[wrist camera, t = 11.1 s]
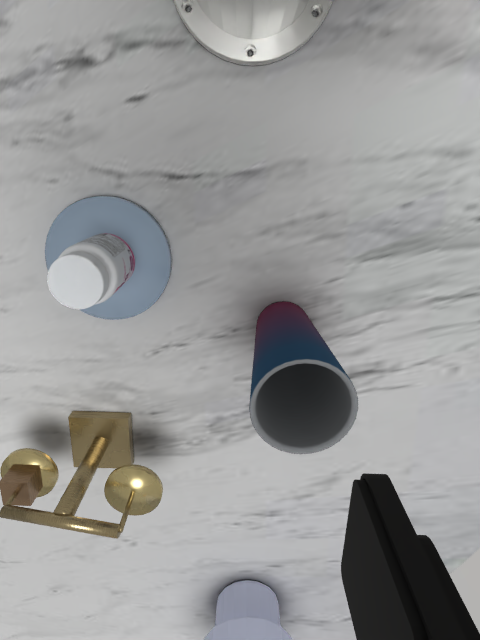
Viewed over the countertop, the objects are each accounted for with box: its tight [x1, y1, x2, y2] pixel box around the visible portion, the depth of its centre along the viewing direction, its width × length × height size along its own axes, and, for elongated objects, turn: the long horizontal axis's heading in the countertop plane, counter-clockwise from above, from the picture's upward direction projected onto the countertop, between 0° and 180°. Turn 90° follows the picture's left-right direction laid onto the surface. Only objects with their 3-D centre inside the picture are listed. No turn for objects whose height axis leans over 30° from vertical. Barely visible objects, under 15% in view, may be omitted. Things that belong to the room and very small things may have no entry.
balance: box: [0, 411, 163, 538], centre depth 39 cm, size 6×15×13 cm, turn 88°
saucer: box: [45, 196, 172, 320], centre depth 38 cm, size 11×11×1 cm
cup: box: [249, 301, 358, 454], centre depth 34 cm, size 7×7×15 cm
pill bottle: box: [47, 233, 135, 309], centre depth 34 cm, size 5×5×8 cm
